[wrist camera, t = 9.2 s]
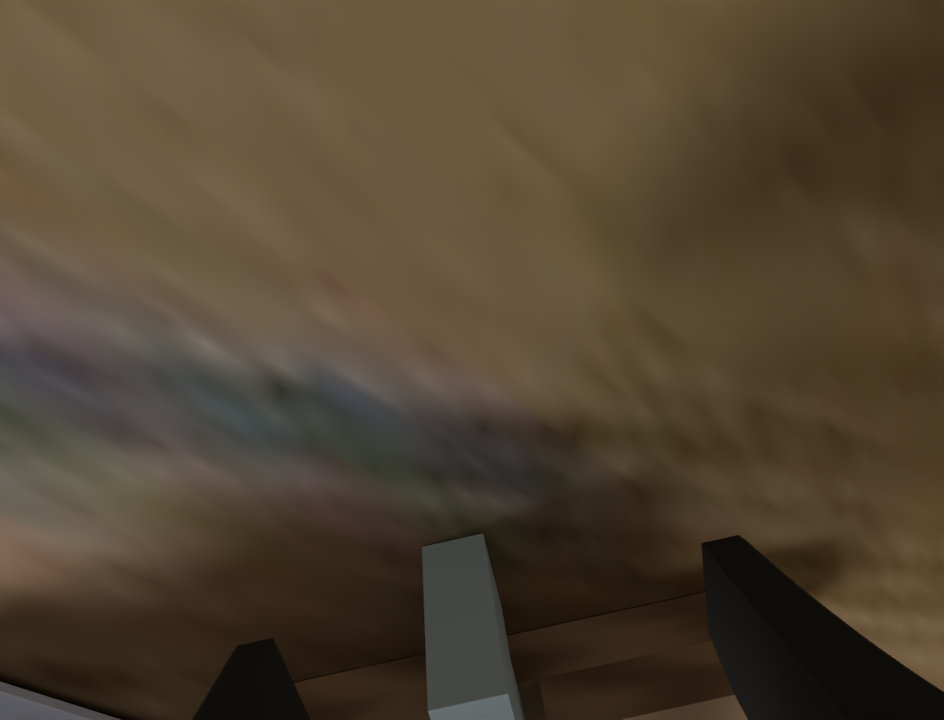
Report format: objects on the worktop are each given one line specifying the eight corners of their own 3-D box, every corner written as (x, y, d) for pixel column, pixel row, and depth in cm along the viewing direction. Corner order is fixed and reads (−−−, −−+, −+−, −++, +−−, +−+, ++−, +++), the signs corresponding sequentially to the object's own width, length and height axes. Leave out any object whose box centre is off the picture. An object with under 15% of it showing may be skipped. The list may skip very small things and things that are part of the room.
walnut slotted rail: (247, 733, 26) (223, 849, 22) (228, 697, 25) (199, 811, 21) (736, 626, 26) (790, 726, 22) (734, 585, 25) (790, 682, 21)
